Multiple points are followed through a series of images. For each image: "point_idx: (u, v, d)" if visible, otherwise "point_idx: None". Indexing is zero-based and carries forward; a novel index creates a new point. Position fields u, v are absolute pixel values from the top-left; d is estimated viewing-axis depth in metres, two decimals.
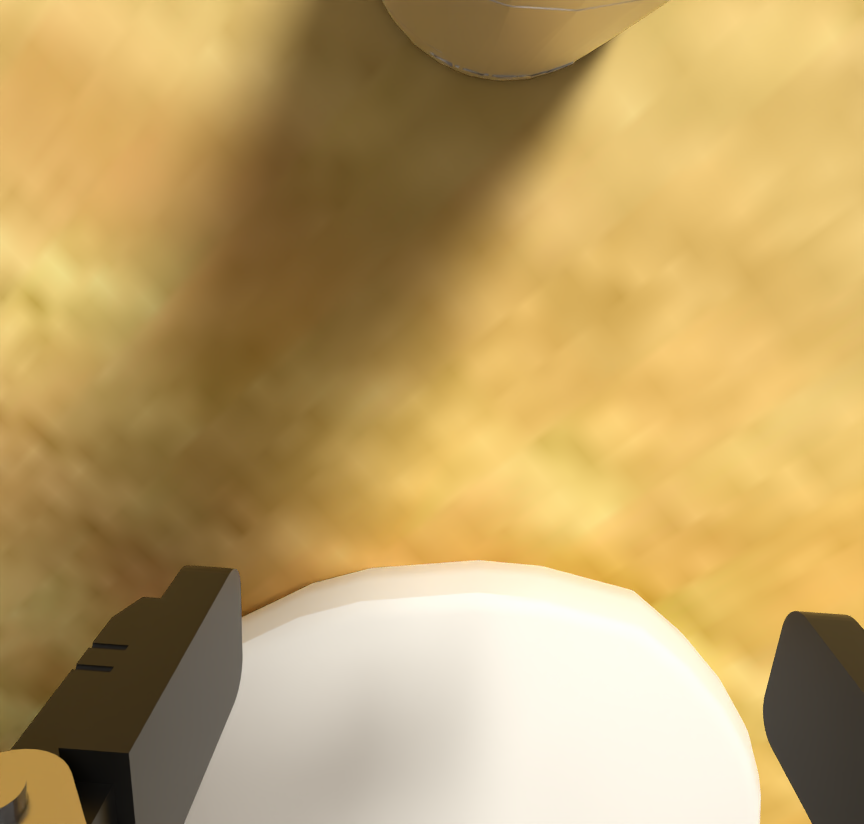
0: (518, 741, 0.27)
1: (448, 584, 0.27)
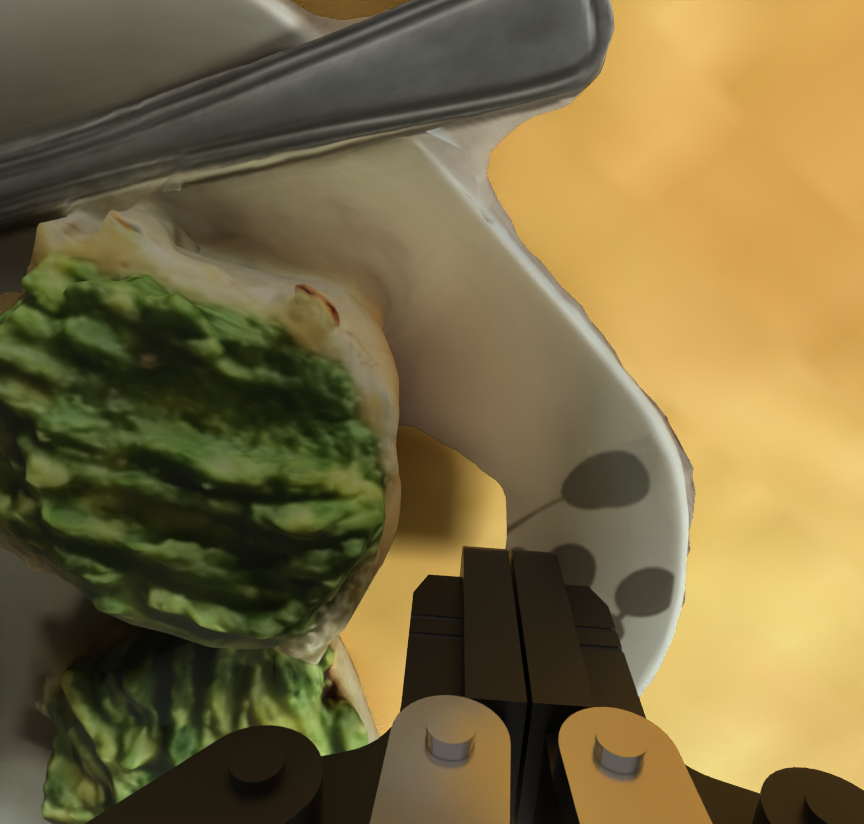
0: None
1: None
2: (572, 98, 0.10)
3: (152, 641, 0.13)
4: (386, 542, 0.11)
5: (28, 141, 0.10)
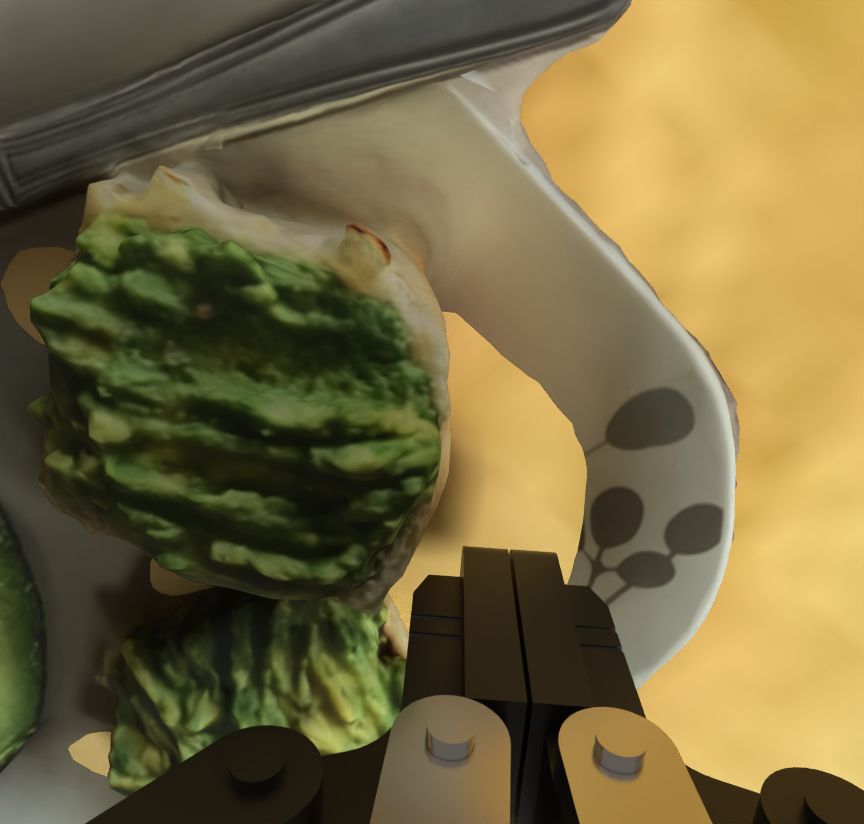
0: None
1: None
2: (603, 33, 0.10)
3: (208, 606, 0.13)
4: (440, 486, 0.11)
5: (71, 107, 0.10)
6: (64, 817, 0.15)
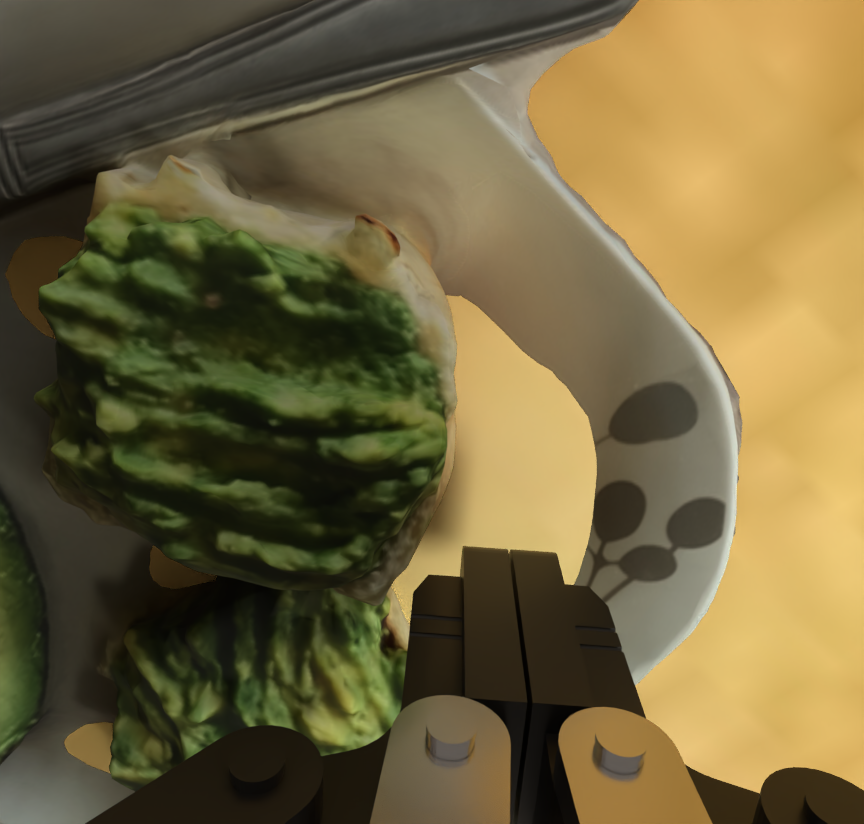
0: None
1: None
2: (611, 28, 0.10)
3: (211, 597, 0.13)
4: (445, 477, 0.11)
5: (80, 96, 0.10)
6: (64, 808, 0.15)
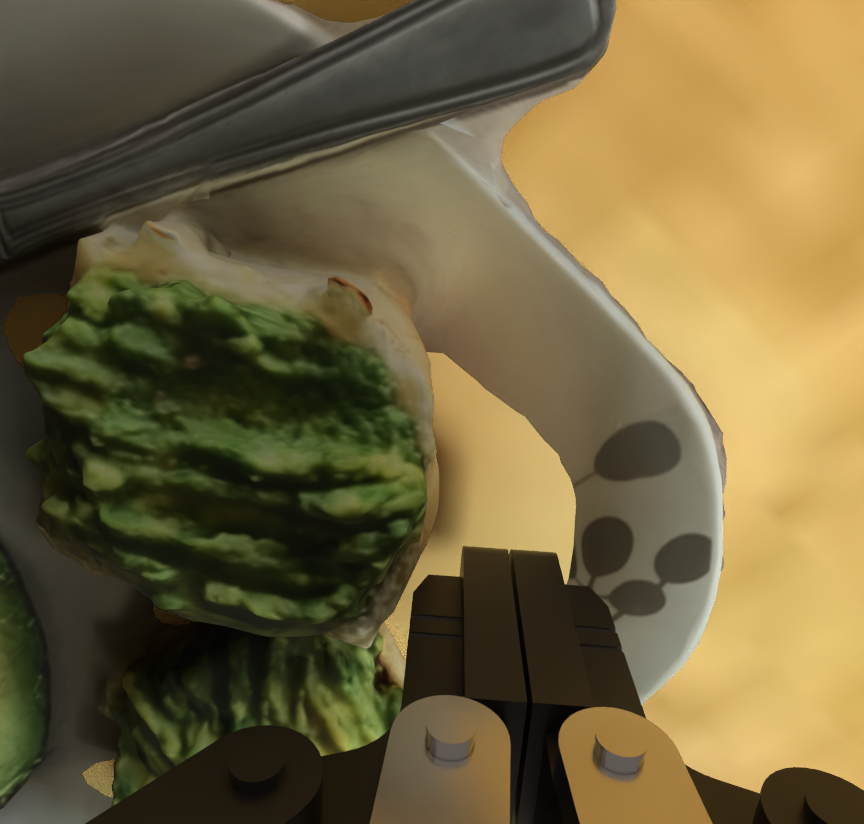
0: None
1: None
2: (580, 79, 0.10)
3: (207, 639, 0.13)
4: (429, 524, 0.11)
5: (61, 162, 0.10)
6: None
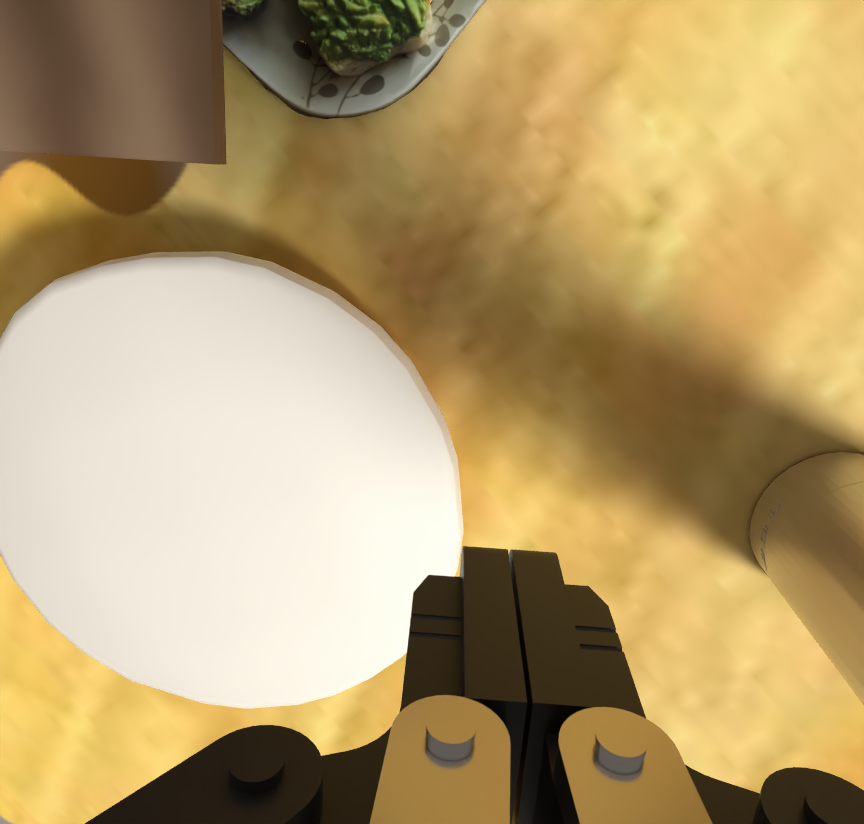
0: (355, 574, 0.39)
1: (460, 516, 0.40)
2: None
3: None
4: None
5: None
6: (269, 63, 0.35)
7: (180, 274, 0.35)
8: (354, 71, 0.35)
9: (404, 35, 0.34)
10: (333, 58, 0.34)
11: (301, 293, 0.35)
